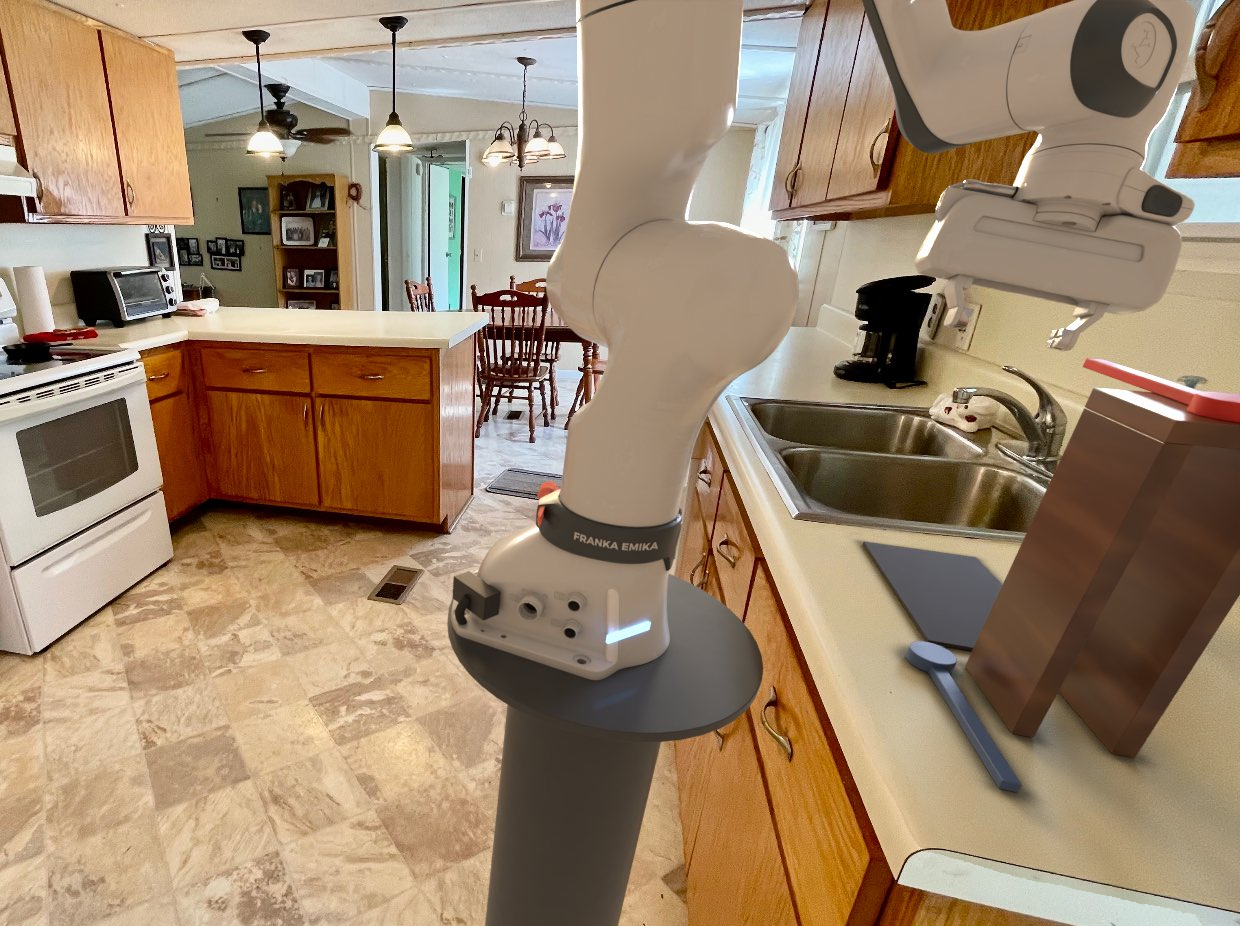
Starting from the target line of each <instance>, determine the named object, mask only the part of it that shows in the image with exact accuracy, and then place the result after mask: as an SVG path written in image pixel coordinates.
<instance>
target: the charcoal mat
mask: <svg viewBox="0 0 1240 926" xmlns="http://www.w3.org/2000/svg"><path fill="white" fill-rule="evenodd" d="M862 545H863V547H864V549H865V550H866V551H867V553H868V554H869V556H870V558H871V559H872V561H873V562H874V564H875V565H876V567H877V568H878V570H879V572H880V573H881V575H882V576H883V578H884V579H885V581H886V583H887V584H888V585H889V587H890V589H891V590H892V592H893V593H894V595H895V596H896V598H897V599H898V601H899V602H900V604H901V605H902V607H903V608H904V610H905V611H906V613H907V615H908V616H909V617H910V620H911V621H912V623H914V626H915V627H916V628H917V630H918V632H919V633H920V635H921V636H922V637H923V639H924V642H930V643H933V644H936V645H939V646H941V647H944V648H952V649H956V650H957V649H958V650H964V651H970V652H972V650H973V648H974V646H975V643H976V641H977V639H978V637H979V635H980V633H981V630H982V628H983V626H984V624H985V622H986V620H987V617H988V615H989V613H990V611H991V609H992V607H993V604H994V602H995V600H996V598H997V596H998V594H999V591H1000V589H1001V587H1002V585H1003V583H1001V581H999V580H998V579H997V577H996V576H995V575H994V574H993V573H992V572H991V571H990V570H989V569H988V568H987V567H986V566H985V565H984V564H983V563H982V562H981V561H980V560H979V558H977V556H970V555H964V554H956V553H949V552H943V551H935V550H928V549H920V548H913V547H906V546H900V545H892V544H886V543H885V544H884V543H877V542H871V541H863V542H862Z"/></svg>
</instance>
